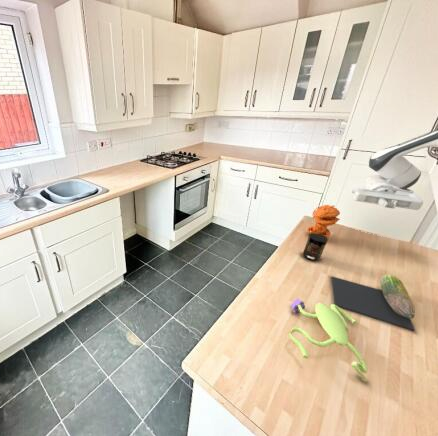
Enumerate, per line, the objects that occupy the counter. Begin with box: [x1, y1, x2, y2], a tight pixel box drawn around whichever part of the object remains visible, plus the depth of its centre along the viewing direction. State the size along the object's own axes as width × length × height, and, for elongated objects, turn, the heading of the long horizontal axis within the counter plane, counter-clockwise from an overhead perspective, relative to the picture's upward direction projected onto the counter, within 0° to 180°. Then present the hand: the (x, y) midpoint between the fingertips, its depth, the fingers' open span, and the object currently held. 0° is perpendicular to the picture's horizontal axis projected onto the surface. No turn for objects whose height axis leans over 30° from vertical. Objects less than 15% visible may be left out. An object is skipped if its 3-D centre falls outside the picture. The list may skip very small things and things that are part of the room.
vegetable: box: [380, 274, 416, 320], centre depth 81 cm, size 6×6×20 cm
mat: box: [331, 276, 415, 332], centre depth 84 cm, size 20×16×1 cm
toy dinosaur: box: [306, 204, 341, 240], centre depth 116 cm, size 11×11×18 cm
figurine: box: [289, 298, 368, 382], centre depth 72 cm, size 18×27×6 cm
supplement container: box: [302, 233, 329, 262], centre depth 104 cm, size 7×7×10 cm
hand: (390, 206), depth 92 cm, fingers closed
